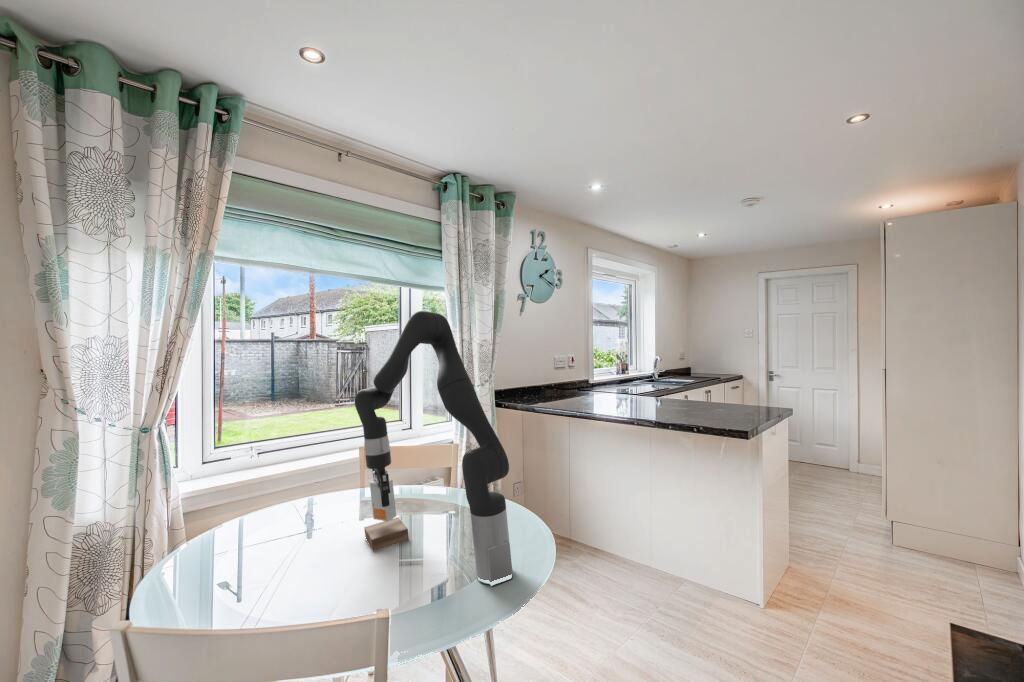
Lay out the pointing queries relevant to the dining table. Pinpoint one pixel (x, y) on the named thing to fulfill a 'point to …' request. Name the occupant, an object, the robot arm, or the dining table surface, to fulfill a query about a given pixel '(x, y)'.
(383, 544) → the walnut block
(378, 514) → the skincare box
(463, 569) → the dining table surface
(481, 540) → the robot arm
